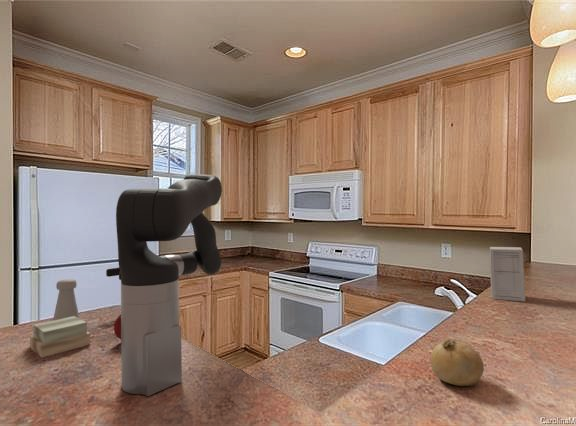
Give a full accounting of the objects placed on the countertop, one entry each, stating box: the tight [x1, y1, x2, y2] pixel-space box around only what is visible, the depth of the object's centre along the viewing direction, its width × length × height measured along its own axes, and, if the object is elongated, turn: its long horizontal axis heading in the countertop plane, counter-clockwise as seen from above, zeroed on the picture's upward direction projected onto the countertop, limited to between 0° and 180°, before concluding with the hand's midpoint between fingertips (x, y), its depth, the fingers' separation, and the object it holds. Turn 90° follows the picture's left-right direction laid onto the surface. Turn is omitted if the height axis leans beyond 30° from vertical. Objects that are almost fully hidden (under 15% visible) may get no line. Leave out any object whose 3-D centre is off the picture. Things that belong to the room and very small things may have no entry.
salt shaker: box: [52, 278, 81, 321], centre depth 84 cm, size 6×6×13 cm
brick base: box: [29, 316, 91, 359], centre depth 73 cm, size 9×9×5 cm
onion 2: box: [429, 337, 485, 387], centre depth 55 cm, size 8×8×7 cm
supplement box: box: [489, 246, 526, 303], centre depth 111 cm, size 10×9×17 cm
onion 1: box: [113, 313, 121, 340], centre depth 75 cm, size 6×6×8 cm
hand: (112, 274), depth 93 cm, fingers open, 8 cm apart
